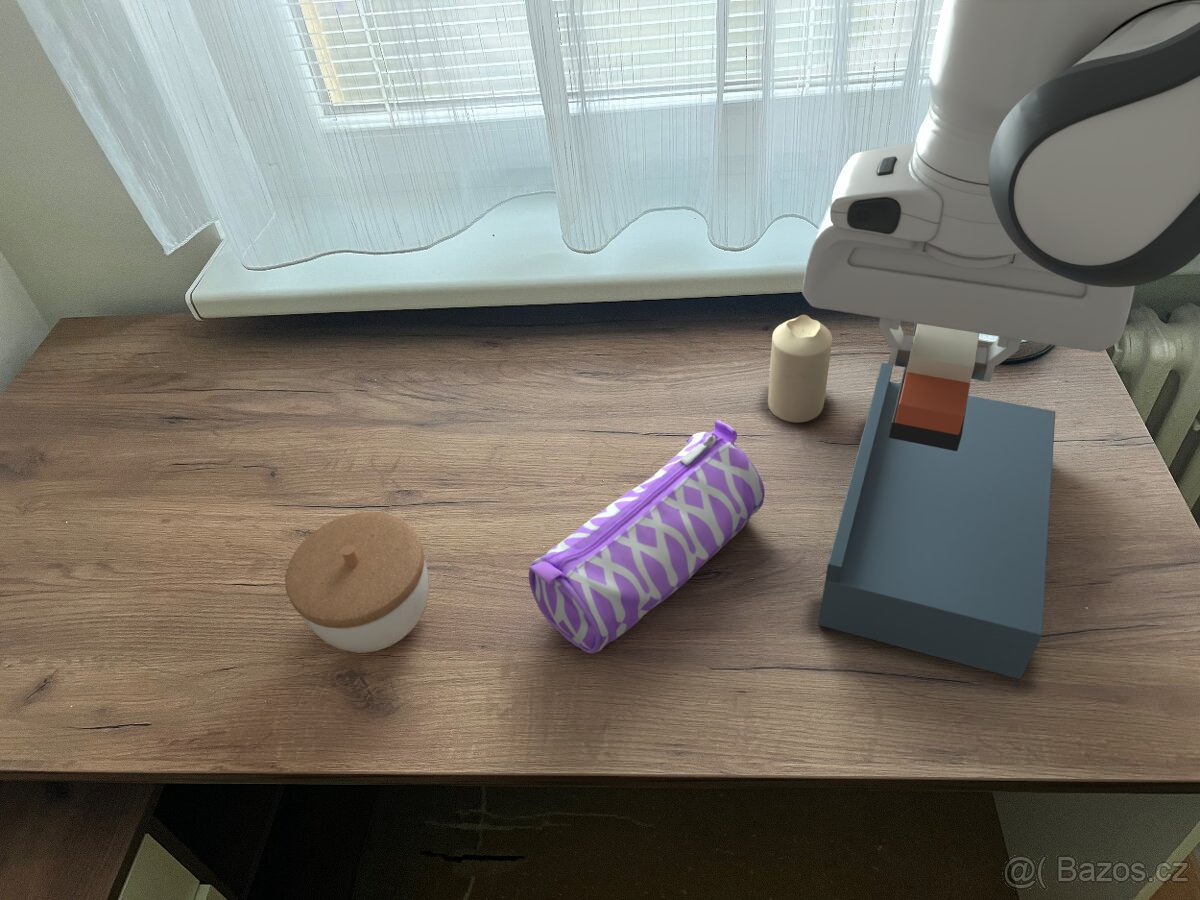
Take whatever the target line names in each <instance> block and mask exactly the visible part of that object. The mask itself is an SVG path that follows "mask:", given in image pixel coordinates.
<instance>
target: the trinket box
mask: <svg viewBox="0 0 1200 900" xmlns="http://www.w3.org/2000/svg"><path fill="white" fill-rule="evenodd" d="M284 580H285V581H284V582H285V583H284V584H285V591H286V595H287V597H288V599H289V601H290V603H291V605H292V606H293V609H295V610H296V612H297V613H298V614H299V616H300V617H301V619H302V620H303V621H304V623H305V624H306V625H307V626H308V628H309V629H310V630H311V631H312V632H313V633H314V634H315V636H318V637H319V639H321V640H322V641H324V642H325V643H326V644H328V645H330V646H332V647H334V648H336V649H339V650H341V651H345V652H349V653H373V652H377V651H380V650H384V649H387V648H390V647H391V646H394V645H395V644H396V643H398V642H400V641H401V640H403V639H404V638H405V637H406V636H407V635H408V634H410V633H411V632H412V631H413V630H414V628H415V627H416V626H417V625H418V623H419V621H420V620H421V619H422V616H423V614H424V612H425V610H426V607H427V603H428V600H429V595H430V577H429V569H428V564H427V560H426V557H425V552H424V548H423V544H422V542H421V540H420V536H419V534H418V533H417V532H416V530H415V529H414V528H413V526H411V525H410V524H409V523H408V522H406V521H405V520H404V519H401V518H400V517H399V516H398V517H397V516H396V515H392V514H389V513H385V512H376V511H365V512H357V513H352V514H347V515H344V516H340V517H338V518H336V519H333V520H331V521H329V522H328V523H325V524H324V525H322V526H320V527H319V528H317V529H316V530H315V531H313V532H312V533H311V534H310V535H308V536H307V537H306V538H305V539H304V540H303V541H302V543H300V544H299V546H298V547H297V549H296V550H294V553H293V555H292V557H291V559H290V560H289V562H288V565H287V568H286V571H285V578H284Z"/></svg>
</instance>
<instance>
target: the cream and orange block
mask: <svg viewBox="0 0 1200 900" xmlns="http://www.w3.org/2000/svg"><path fill="white" fill-rule="evenodd" d="M911 336H914V341H913V345H912V349H911V354H910V358H909V362H908V367H907V368H906V367H904V370H903V373H902V377H901V382H900V383H901V386H900V390H899V394H898V398H897V402H896V407H895V411H894V415H893V419H892V423H891V428H890V433H889V438H892V439H897V440H902V441H907V442H912V443H917V444H922V445H927V446H932V447H937V448H942V449H947V450H952V451H957V450H958V447H959V444H960V440H961V437H962V431H963V425H964V419H965V412H966V406H967V400H968V396H969V393H970V387H971V380H972V379H971V377H972V373H973V370H974V365H975V359H976V352H977V347H979V346H978V345H979V338H980V333H974V332H967V331H961V330H955V329H949V328H942V327H936V326H930V325H923V324H917V323H914V327H913V331H912V335H911Z"/></svg>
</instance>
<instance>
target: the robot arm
mask: <svg viewBox="0 0 1200 900" xmlns="http://www.w3.org/2000/svg"><path fill="white" fill-rule="evenodd" d="M928 83H929V90H930V92H929V93H930V96H929V97H930V99H929V106H928V109H927V113H926V115H925V118H924V120H923V121H922V123H921V125H920V127H919V130H918V132H917V135H916V138H915V140H913V141H910V142H905V143H901V144H896V145H891V146H886V147H879V148H874V149H869V150H868V149H867V150H863V151H859V152H856V153H854V154H853V155H851V156H850V158H849V159H848V160H847V162H846V163H845V165H844V166H843V167H842V170H841V172H840V173H839V175H838V178H837V180H836V182H835V185H834V189H833V192H832V196H831V201H830V203H829V205H828V207H827V208H826V211H825V213H824V216H823V217H822V219H821V222H820V224H819V227H818V228H817V229H818V230H817V232H816V234H815V237H814V240H813V243H812V246H811V248H810V252H809V255H808V258H807V262H806V265H805V270H804V276H803V280H802V287H801V294H802V296H803V297H804V299H805V300H806V302H807V303H808V304H809V305H810V306H811V307H812V308H816V309H822V310H823V309H824V310H830V311H835V312H842V313H850V314H854V315H861V316H868V317H874V318H879V321H878V329H879V331H880V333H881V335H882V337H883V338H884V341H885V342H886V344H887V346H888V348H890V349H889V350H890V351H889V355H888V360H887V364H889V365H893V366H894V367H900V368H905V367H906V368H907V367H908V362H909V358H910V354H911V349H912V345H913V341H914V336H912V335H908V334H905V332H904V331H903V329H902V326H901V322H904V323H905V322H906V323H911V324H915V323H917V324H923V325H930V326H936V327H942V328H949V329H955V330H961V331H967V332H974V333H979V335H980V334H981V335H987V336H992V337H993V336H994V337H998V338H997V339H996V340H995V341H993V342H992V343H991V344H990V345H989V346H988V347H983V346H977V352H976V359H975V365H974V370H973V373H972V377H971V380H977V381H982V382H986V383H990V382H991V381H992V377H993V375H994V371H995V368H996V366H999V365H1001V363H1003V362H1005V360H1007V359H1008V358H1010V357H1011V356H1013V355H1014V354H1015V353H1017V352H1018V351H1019V350H1020V347H1021V344H1022V341H1024V342H1031V343H1038V344H1043V345H1049V346H1055V347H1063V348H1070V349H1074V350H1082V351H1086V352H1087V351H1089V352H1094V353H1101V352H1104V351H1105V350H1108V349H1109V348H1111V347H1113V346H1115V345H1117V344H1119V342H1120V340H1121V339H1122V337H1123V334H1124V331H1125V329H1126V325H1127V322H1128V318H1129V315H1130V312H1131V308H1132V303H1133V298H1134V293H1135V288H1136V286H1141V285H1145V284H1149V283H1153V282H1156V281H1159V280H1162V279H1164V278H1166V277H1168V276H1170V275H1172V274H1174V273H1176V272H1178V271H1179V270H1181V269H1183V268H1184V267H1186V266H1187V265H1188V264H1189V263H1191V262H1192V261H1193V260H1194V259H1196V258H1197V257H1198V256H1199V255H1200V0H943V3H942V7H941V11H940V16H939V19H938V23H937V28H936V32H935V38H934V42H933V46H932V50H931V56H930V61H929V70H928Z"/></svg>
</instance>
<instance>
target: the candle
mask: <svg viewBox="0 0 1200 900" xmlns="http://www.w3.org/2000/svg"><path fill="white" fill-rule="evenodd" d="M832 346H833V334H832V332H831V331H830V329H829V328H827V327H826V326H825V325H824V324H822V323H821V322H820V321H819V320H817V319H812V318H811V317H810V316H809V315H807V314H801V315H799V316H798V317H795V318H792V319H789V320H786V321H784V322H782V323H780V324H779V325H777V327H776V328H775V329H774V330H773V332H772V337H771V351H770V363H769V366H770V367H769V379H768V390H767V391H768V392H767V405H768V408H769V410H770V412H771V413H772V414H773V415H774V416H775V417H777V418H779V419H780V420H783V421H785V422H788V423H789V422H791V423H805V422H809V421H812V420H814V419H815V418H817V417H818V416H819V415H820V414H821V413H822V411H823V409H824V404H825V399H826V391H827V385H828V377H829V368H830V361H831V353H832Z"/></svg>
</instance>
